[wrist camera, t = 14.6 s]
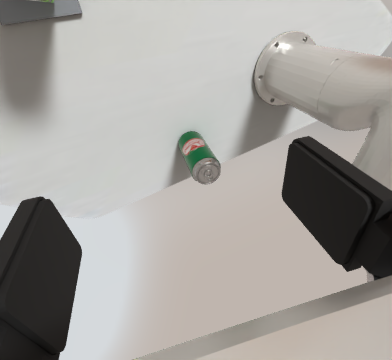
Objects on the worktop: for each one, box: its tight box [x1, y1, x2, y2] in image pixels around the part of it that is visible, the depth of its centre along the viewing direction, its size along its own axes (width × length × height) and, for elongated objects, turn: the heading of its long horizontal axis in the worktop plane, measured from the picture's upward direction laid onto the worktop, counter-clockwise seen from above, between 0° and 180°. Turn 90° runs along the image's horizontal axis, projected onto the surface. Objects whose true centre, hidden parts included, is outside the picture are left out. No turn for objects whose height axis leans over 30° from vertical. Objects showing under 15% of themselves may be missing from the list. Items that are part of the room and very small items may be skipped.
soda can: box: [179, 131, 220, 184], centre depth 43 cm, size 5×5×12 cm
